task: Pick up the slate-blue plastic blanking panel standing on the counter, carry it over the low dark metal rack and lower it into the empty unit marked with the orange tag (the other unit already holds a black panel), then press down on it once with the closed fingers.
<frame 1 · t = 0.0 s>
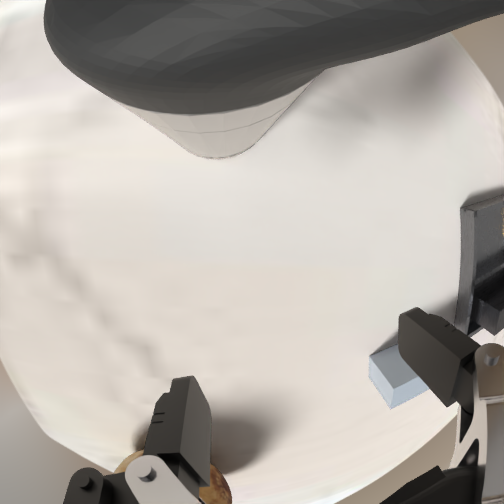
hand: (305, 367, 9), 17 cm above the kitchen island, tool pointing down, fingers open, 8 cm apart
panel: (405, 350, 32), on the kitchen island
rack: (488, 262, 30), on the kitchen island
clay pot: (174, 461, 34), on the kitchen island
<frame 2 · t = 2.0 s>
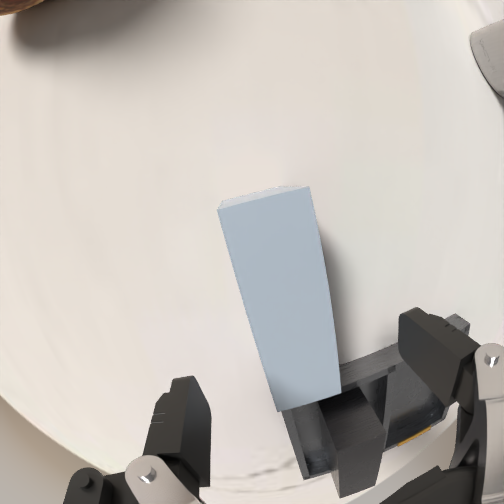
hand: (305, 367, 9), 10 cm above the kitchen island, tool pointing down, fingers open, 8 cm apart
panel: (272, 276, 19), on the kitchen island
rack: (377, 403, 24), on the kitchen island
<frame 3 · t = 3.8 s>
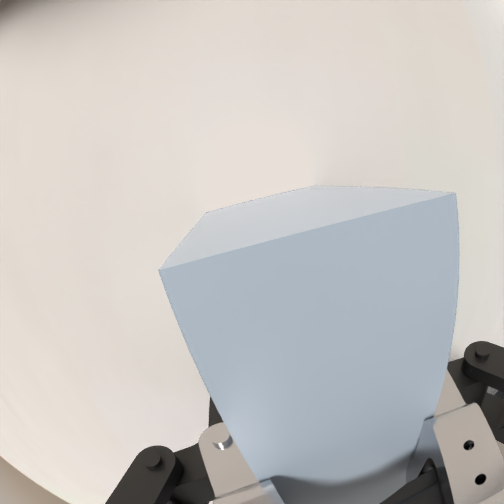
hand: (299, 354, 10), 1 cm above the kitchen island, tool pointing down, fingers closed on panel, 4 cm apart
panel: (293, 339, 11), on the kitchen island, touching gripper
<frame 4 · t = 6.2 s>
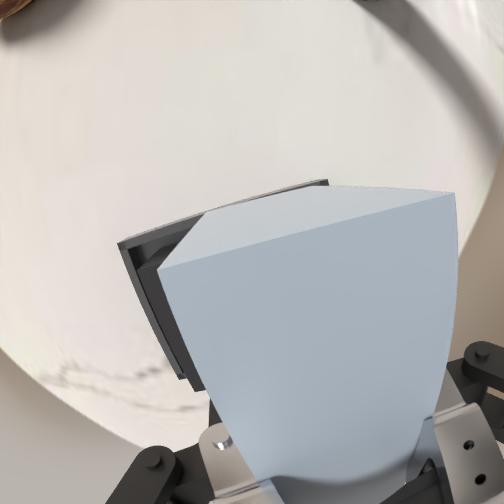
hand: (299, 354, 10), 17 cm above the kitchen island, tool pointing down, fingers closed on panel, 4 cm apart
panel: (293, 339, 11), point 16 cm above the kitchen island, touching gripper
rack: (243, 283, 28), on the kitchen island
when the fingers open (3 cm above the kitchen island, at t = 8.9 s): panel stays where it is, resting on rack.
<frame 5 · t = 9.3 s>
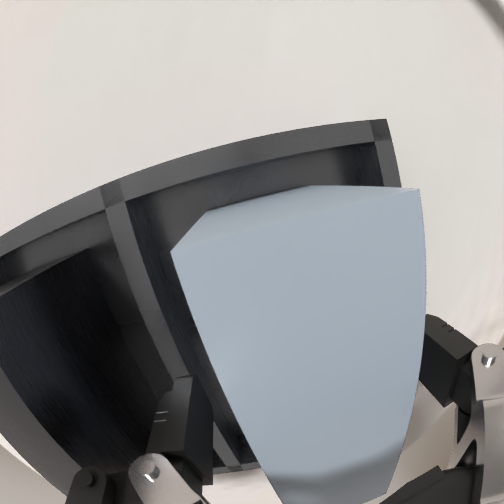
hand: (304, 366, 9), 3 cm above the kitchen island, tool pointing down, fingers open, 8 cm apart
panel: (288, 329, 12), point 1 cm above the kitchen island, touching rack
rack: (189, 347, 12), on the kitchen island
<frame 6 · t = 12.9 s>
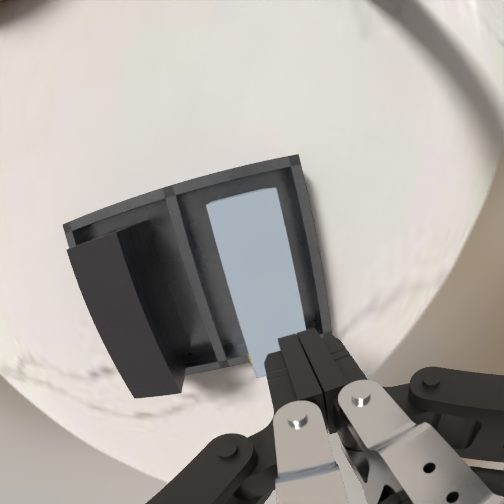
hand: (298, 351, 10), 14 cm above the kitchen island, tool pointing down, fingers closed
panel: (253, 264, 23), point 1 cm above the kitchen island, touching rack
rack: (199, 277, 23), on the kitchen island
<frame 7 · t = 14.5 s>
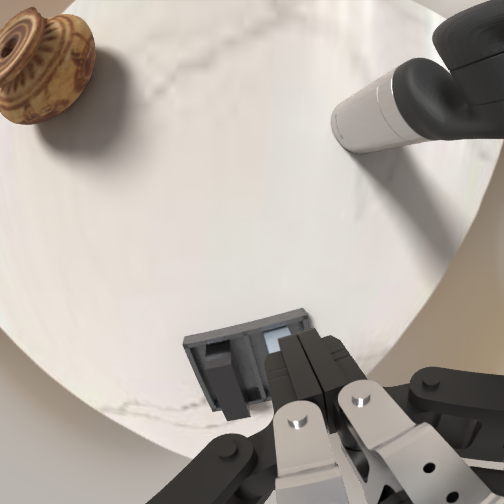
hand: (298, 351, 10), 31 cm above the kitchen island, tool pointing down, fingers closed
panel: (281, 356, 45), point 1 cm above the kitchen island, touching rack
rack: (254, 361, 45), on the kitchen island
clay pot: (63, 80, 31), on the kitchen island
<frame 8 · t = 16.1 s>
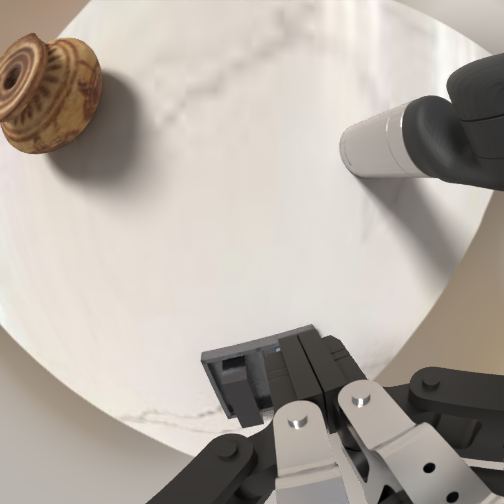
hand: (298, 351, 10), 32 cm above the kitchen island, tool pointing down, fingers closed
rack: (266, 372, 48), on the kitchen island
clay pot: (70, 104, 34), on the kitchen island
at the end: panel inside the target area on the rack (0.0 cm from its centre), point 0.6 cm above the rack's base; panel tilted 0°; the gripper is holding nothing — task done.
